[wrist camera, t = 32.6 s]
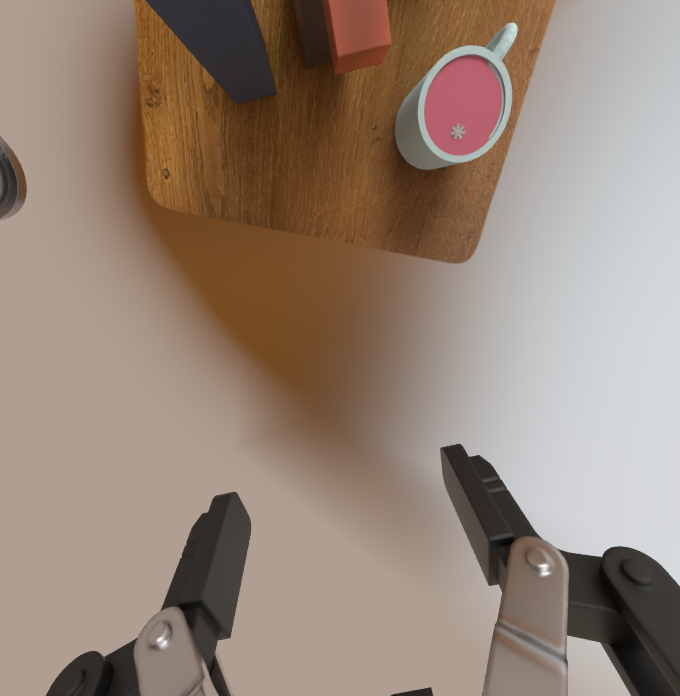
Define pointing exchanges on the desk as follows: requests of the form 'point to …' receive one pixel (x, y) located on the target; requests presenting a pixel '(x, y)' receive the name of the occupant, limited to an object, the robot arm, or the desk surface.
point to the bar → (357, 33)
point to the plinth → (313, 32)
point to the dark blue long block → (222, 43)
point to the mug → (457, 106)
